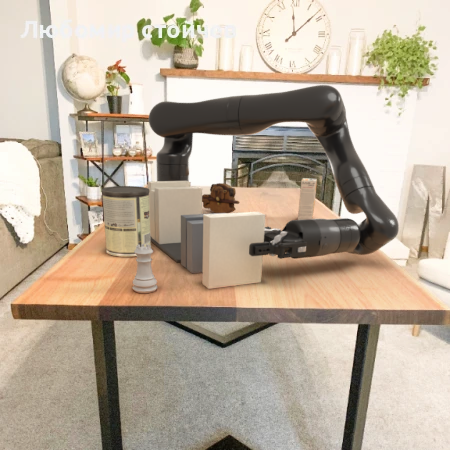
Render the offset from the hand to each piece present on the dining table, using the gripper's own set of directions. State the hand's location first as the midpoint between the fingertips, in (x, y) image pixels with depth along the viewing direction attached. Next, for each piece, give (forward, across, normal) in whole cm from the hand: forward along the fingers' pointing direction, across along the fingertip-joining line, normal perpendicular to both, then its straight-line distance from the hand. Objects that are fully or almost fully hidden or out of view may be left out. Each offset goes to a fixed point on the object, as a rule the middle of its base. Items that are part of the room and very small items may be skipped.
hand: (239, 244), depth 82 cm
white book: (+1, 0, +8) cm, 8 cm away
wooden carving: (-27, -66, +8) cm, 71 cm away
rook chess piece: (+17, -2, +8) cm, 19 cm away
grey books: (+1, -11, +8) cm, 14 cm away
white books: (0, -28, +8) cm, 29 cm away
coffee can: (+14, -28, +8) cm, 32 cm away
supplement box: (-48, -46, +8) cm, 68 cm away
